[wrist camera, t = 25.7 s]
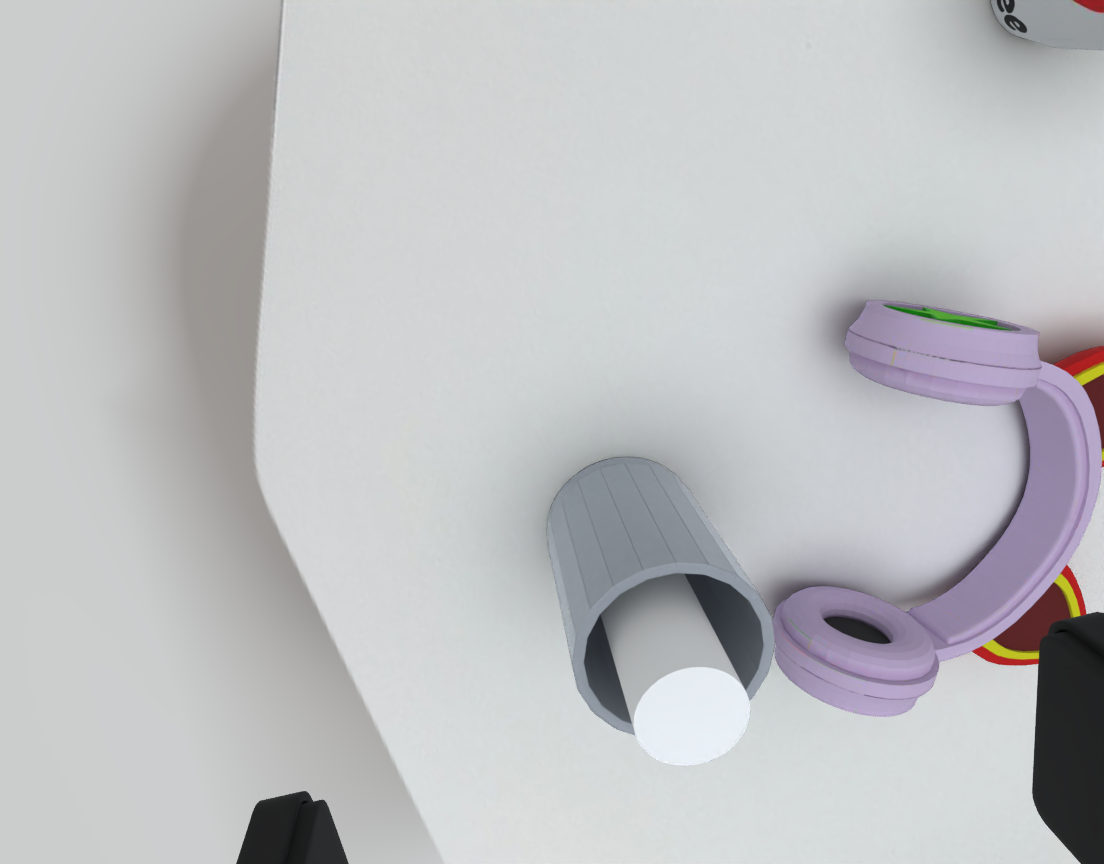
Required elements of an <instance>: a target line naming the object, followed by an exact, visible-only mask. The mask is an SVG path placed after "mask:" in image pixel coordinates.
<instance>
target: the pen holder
mask: <svg viewBox="0 0 1104 864" xmlns="http://www.w3.org/2000/svg"><path fill="white" fill-rule="evenodd" d="M547 541H548V548H549V553H550V558H551V563H552V568H553V573H554V578H555V583H556V588H557V593H558V598H559V603H560V608H561V613H562V618H563V623H564V628H565V633H566V638H567V643H568V648H569V653H570V657H571V662H572V667H573V672H574V676H575V680H576V685H577V689H578V691H579V693H580V694H581V696H582V697H583V699H584V700H585V702H586V703H587V705H588V706H589V707H590V709H591V710H592V712H594V714H596V715H597V716H598V717H600V718H601V719H603V720H604V721H605V722H607V723H608V724H609V725H611V726H612V727H614V728H616V729H617V730H620V731H623V732H627V733H630V734H633V735H635V732H634V729H633V725H632V722H631V718H630V715H629V711H628V708H627V704H626V701H625V697H624V694H623V690H622V687H621V683H620V680H619V677H618V673H617V670H616V666H615V663H614V659H613V656H612V652H611V649H610V645H609V642H608V638H607V635H606V631H605V628H604V624H603V621H602V617H601V613H602V612H603V611H604V610H605V609H606V608H607V607H608V606H609V605H610V604H611V603H612V602H613V601H614V600H615V599H616V598H617V597H618V596H619V595H620V594H621V593H623V592H625V591H627V590H629V589H631V588H633V587H634V586H636V585H638V584H640V583H642V582H644V581H645V580H647V579H652V578H656V577H661V576H665V575H669V574H674V573H684V574H685V576H686V578H687V580H688V582H689V584H690V586H691V588H692V590H693V591H694V593H695V595H696V597H697V599H698V601H699V603H700V605H701V607H702V609H703V611H704V612H705V614H706V616H707V618H708V620H709V622H710V624H711V626H712V628H713V630H714V631H715V633H716V635H717V637H718V639H719V641H720V643H721V645H722V647H723V649H724V651H725V652H726V654H727V656H728V658H729V660H730V662H731V664H732V666H733V668H734V670H735V672H736V673H737V675H738V677H739V679H740V681H741V683H742V685H743V687H744V689H745V691H746V693H747V695H748V698H749V701H750V700H751V699H752V698H753V696H754V695H755V694H756V692H757V690H758V689H759V687H760V686H761V684H762V682H763V681H764V679H765V677H766V676H767V674H768V672H769V669H770V665H771V660H772V656H773V652H774V648H775V639H774V631H773V623H772V618H771V615H770V613H769V611H768V609H767V607H766V606H765V604H764V602H763V600H762V598H761V596H760V594H759V593H758V591H757V590H756V588H755V587H754V586H753V584H752V583H751V581H750V580H749V578H748V577H747V575H746V574H745V572H744V571H743V569H742V568H741V566H740V565H739V563H738V562H737V560H736V559H735V557H734V556H733V554H732V553H731V552H730V550H729V549H728V547H727V546H726V544H725V543H724V541H723V540H722V538H721V537H720V535H719V534H718V532H717V531H716V529H715V528H714V526H713V525H712V523H711V522H710V520H709V519H708V518H707V516H706V515H705V513H704V512H703V510H702V509H701V507H700V506H699V504H698V503H697V501H696V500H695V498H694V497H693V495H692V494H691V492H690V491H689V490H688V488H687V487H686V486H685V485H684V484H683V482H682V481H681V480H680V479H679V478H678V477H677V476H676V475H675V474H674V473H673V472H671V471H670V470H669V469H667V468H666V467H664V466H662V465H660V464H658V463H656V462H653V461H650V460H646V459H642V458H635V457H618V458H611V459H607V460H603V461H600V462H597V463H595V464H593V465H590V466H588V467H587V468H585V469H583V470H581V471H580V472H579V473H577V474H576V475H575V476H573V477H572V478H571V479H570V480H569V481H568V482H567V483H566V484H565V485H564V486H563V488H562V489H561V490H560V491H559V493H558V495H557V496H556V498H555V500H554V502H553V504H552V506H551V509H550V512H549V516H548V521H547Z"/></svg>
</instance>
